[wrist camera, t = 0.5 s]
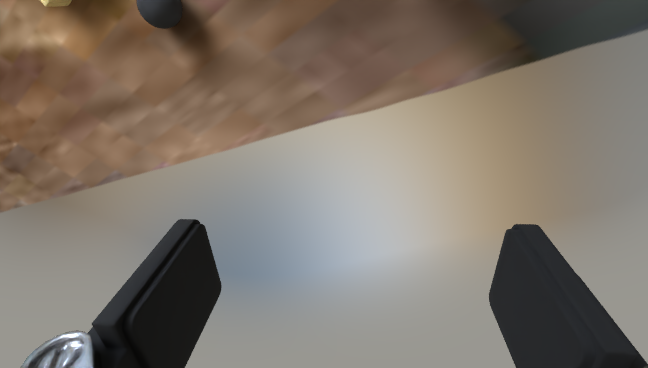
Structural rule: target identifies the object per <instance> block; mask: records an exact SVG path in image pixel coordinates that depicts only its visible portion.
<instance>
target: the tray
mask: <svg viewBox="0 0 648 368" xmlns="http://www.w3.org/2000/svg"><path fill="white" fill-rule="evenodd" d="M39 1H41V2H42V3H43V4H44V5H45V6H46V7H50V6H69V4H70V3H71V1H72V0H39Z"/></svg>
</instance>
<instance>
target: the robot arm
mask: <svg viewBox="0 0 648 368" xmlns="http://www.w3.org/2000/svg"><path fill="white" fill-rule="evenodd" d="M220 292H221V281H220V278H219V274H218V271H217V268H216V264H215V260H214V257H213V253H212V250H211V246H210V243H209V239H208V236H207V232H206V229H205V226H204V225H203V224H200V222H199V221H198V220H191V219H188V220H187V219H180V220H178V221H177V222H176V223H175V224H174V225H173V226H172V228H171V229H170V230H169V231H168V232H167V234H166V235H165V236H164V237H163V239H162V240H161V241H160V242H159V243H158V245H157V246H156V247H155V248H154V249H153V250H152V252H151V253H150V254H149V255H148V257H147V258H146V259H145V260H144V261H143V262H142V264H141V265H140V266H139V267H138V268H137V270H136V271H135V272H134V273H133V274H132V276H131V277H130V278H129V279H128V280H127V282H126V283H125V284H124V285H123V286H122V288H121V289H120V290H119V291H118V293H117V294H116V295H115V296H114V297H113V299H112V300H111V301H110V302H109V303H108V305H107V306H106V307H105V308H104V309H103V311H102V312H101V313H100V314H99V315H98V317H97V318H96V319H95V320H94V321H93V323H92V325H93V327H92V329H91V330H90V331H89V332H88V333H85V332H83V331H71V332H66V333H63V334H60V335H57V336H56V337H54V338H52V339H50V340H48V341H46V342H45V343H44V344H42V345H41V346H39V347H38V348H37V349H35V350H34V351H33V352H32V353H31V354H30V355H29V356H28V357H27V359H26V360H25V361H24V363H23V365H22V366H21V368H185V366H186V364H187V361H188V360H189V358H190V356H191V353H192V351H193V349H194V347H195V345H196V343H197V341H198V339H199V337H200V335H201V333H202V331H203V329H204V326H205V324H206V322H207V320H208V318H209V316H210V314H211V312H212V310H213V308H214V306H215V304H216V301H217V299H218V297H219V295H220ZM489 302H490V306H491V308H492V311H493V313H494V316H495V318H496V320H497V323H498V325H499V328H500V330H501V332H502V335H503V337H504V340H505V342H506V344H507V347H508V349H509V352H510V354H511V356H512V359H513V361H514V364H515V366H516V368H648V364H647V363H646V361H645V360H644V359H643V358H642V356H641V355H640V354H639V352H638V351H637V350H636V349H635V347H634V346H633V345H632V344H631V342H630V341H629V340H628V339H627V337H626V336H625V335H624V333H623V332H622V331H621V329H620V328H619V327H618V326H617V324H616V323H615V322H614V320H613V319H612V318H611V317H610V315H609V314H608V313H607V311H606V310H605V309H604V308H603V306H602V305H601V304H600V302H599V301H598V300H597V299H596V297H595V296H594V295H593V293H592V292H591V291H590V290H589V288H588V287H587V286H586V285H585V283H584V282H583V281H582V279H581V278H580V277H579V276H578V275H577V274H576V273H575V272H574V270H573V269H572V268H571V267H570V265H569V264H568V263H567V261H566V260H565V259H564V258H563V256H562V255H561V254H560V252H559V251H558V250H557V248H556V247H555V246H554V245H553V243H552V242H551V241H550V239H549V238H548V237H547V236H546V235H545V233H544V232H543V230H542V229H541V228H540V227H539V226H538V225H531V224H529V225H528V224H527V225H526V224H516V225H514V226H513V227H512V229H508V230H507V231H506V233H505V236H504V240H503V244H502V247H501V251H500V255H499V259H498V262H497V266H496V270H495V274H494V278H493V281H492V285H491V289H490V293H489Z"/></svg>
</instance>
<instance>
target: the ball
mask: <svg viewBox="0 0 648 368" xmlns="http://www.w3.org/2000/svg"><path fill="white" fill-rule="evenodd" d="M137 7H138V10H139V12H140V14H141V15H142V17H143V18H144V19H145V20H146V21H147V22H148V23H149V24H151V25H153V26H155V27H158V28H163V29H165V28H171V27H173V26H175V25H176V24H177V23H178V22H179V21H180V19H181V17H182V4H181V1H180V0H137Z"/></svg>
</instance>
